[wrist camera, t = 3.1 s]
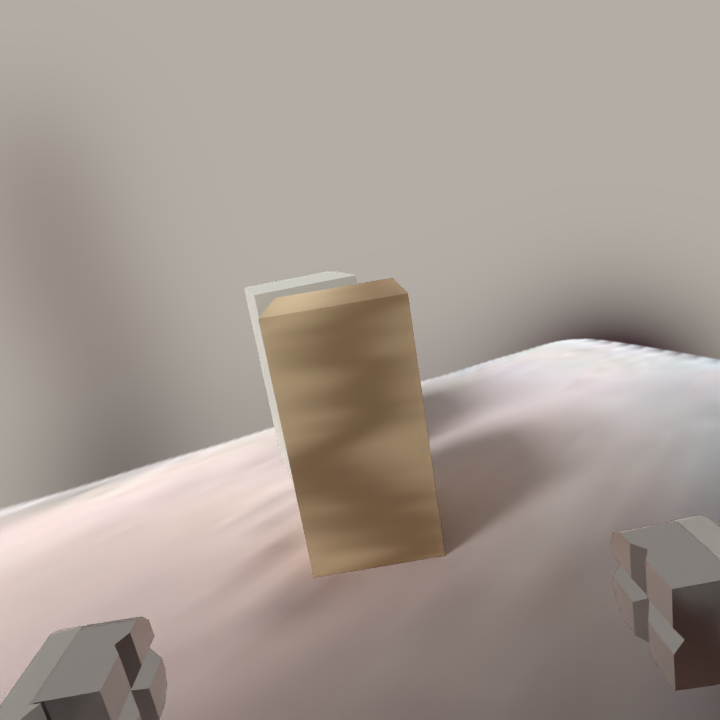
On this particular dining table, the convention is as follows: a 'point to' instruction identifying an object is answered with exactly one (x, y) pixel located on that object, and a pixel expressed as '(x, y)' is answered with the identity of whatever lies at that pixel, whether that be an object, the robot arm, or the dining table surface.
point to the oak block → (354, 425)
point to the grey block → (257, 304)
